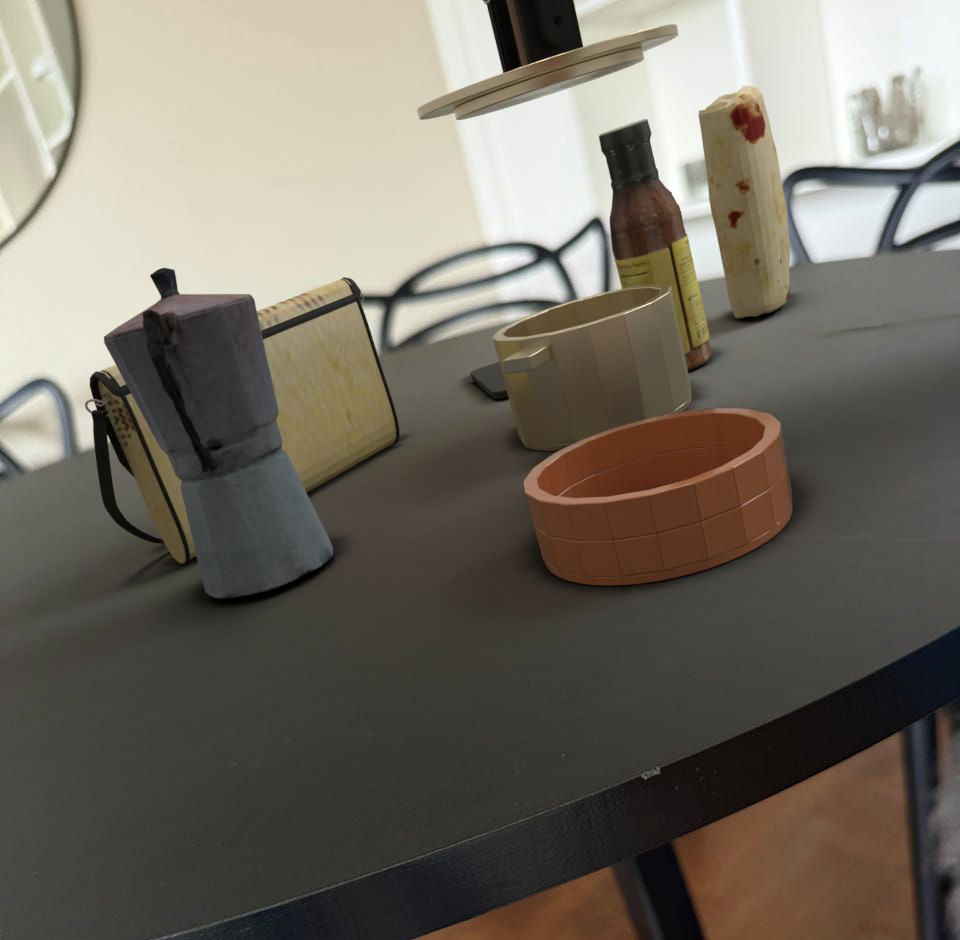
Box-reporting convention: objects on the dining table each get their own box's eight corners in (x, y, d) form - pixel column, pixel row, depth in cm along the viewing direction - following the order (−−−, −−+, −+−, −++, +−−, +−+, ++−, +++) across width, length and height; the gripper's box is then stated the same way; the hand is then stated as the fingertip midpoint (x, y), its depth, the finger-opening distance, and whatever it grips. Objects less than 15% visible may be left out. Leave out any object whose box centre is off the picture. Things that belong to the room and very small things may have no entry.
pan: (829, 476, 56) (817, 397, 55) (731, 587, 47) (714, 497, 46) (615, 488, 65) (599, 420, 63) (498, 584, 56) (475, 508, 54)
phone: (493, 394, 97) (467, 371, 111) (496, 402, 98) (469, 379, 111) (567, 370, 98) (532, 351, 111) (569, 378, 98) (534, 358, 112)
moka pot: (340, 522, 75) (241, 243, 67) (349, 592, 61) (225, 249, 53) (215, 562, 75) (101, 286, 67) (196, 642, 61) (47, 304, 53)
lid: (725, 35, 58) (704, -102, 55) (594, 66, 48) (559, -99, 45) (516, 108, 67) (488, -6, 64) (370, 146, 57) (331, 14, 54)
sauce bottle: (692, 354, 93) (646, 117, 85) (727, 359, 87) (682, 107, 79) (627, 377, 92) (575, 140, 84) (659, 384, 86) (607, 130, 78)
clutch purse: (365, 441, 98) (312, 283, 92) (419, 436, 94) (367, 269, 88) (116, 579, 79) (28, 389, 73) (170, 580, 74) (81, 378, 68)
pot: (733, 372, 83) (714, 264, 80) (624, 457, 70) (596, 334, 67) (590, 390, 91) (568, 293, 88) (470, 469, 79) (438, 360, 75)
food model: (795, 314, 96) (760, 80, 88) (723, 330, 98) (683, 104, 90) (802, 293, 104) (771, 76, 96) (736, 308, 106) (700, 99, 98)
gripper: (596, -471, 43) (681, 16, 51) (457, -280, 57) (539, 79, 65) (438, -449, 41) (550, 54, 49) (334, -257, 56) (434, 110, 63)
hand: (543, 65), depth 57 cm, fingers closed on lid, 2 cm apart
